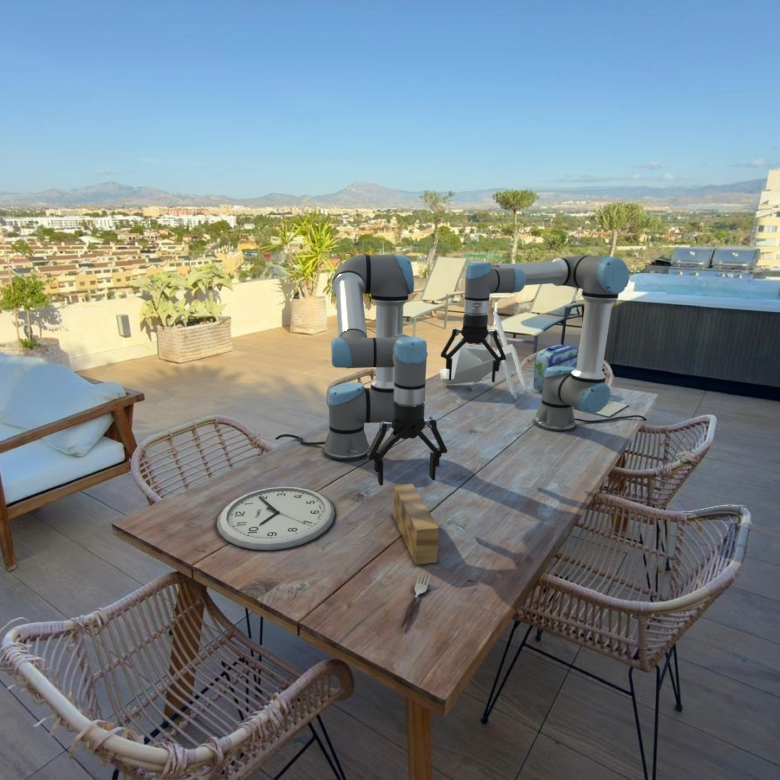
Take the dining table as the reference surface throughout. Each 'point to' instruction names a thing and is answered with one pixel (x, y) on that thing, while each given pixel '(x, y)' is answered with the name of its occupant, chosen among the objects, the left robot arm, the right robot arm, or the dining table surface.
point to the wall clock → (275, 518)
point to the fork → (419, 589)
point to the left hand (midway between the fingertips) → (406, 480)
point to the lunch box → (553, 361)
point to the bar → (415, 524)
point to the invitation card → (611, 408)
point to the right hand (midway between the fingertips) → (471, 380)
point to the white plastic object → (482, 363)
